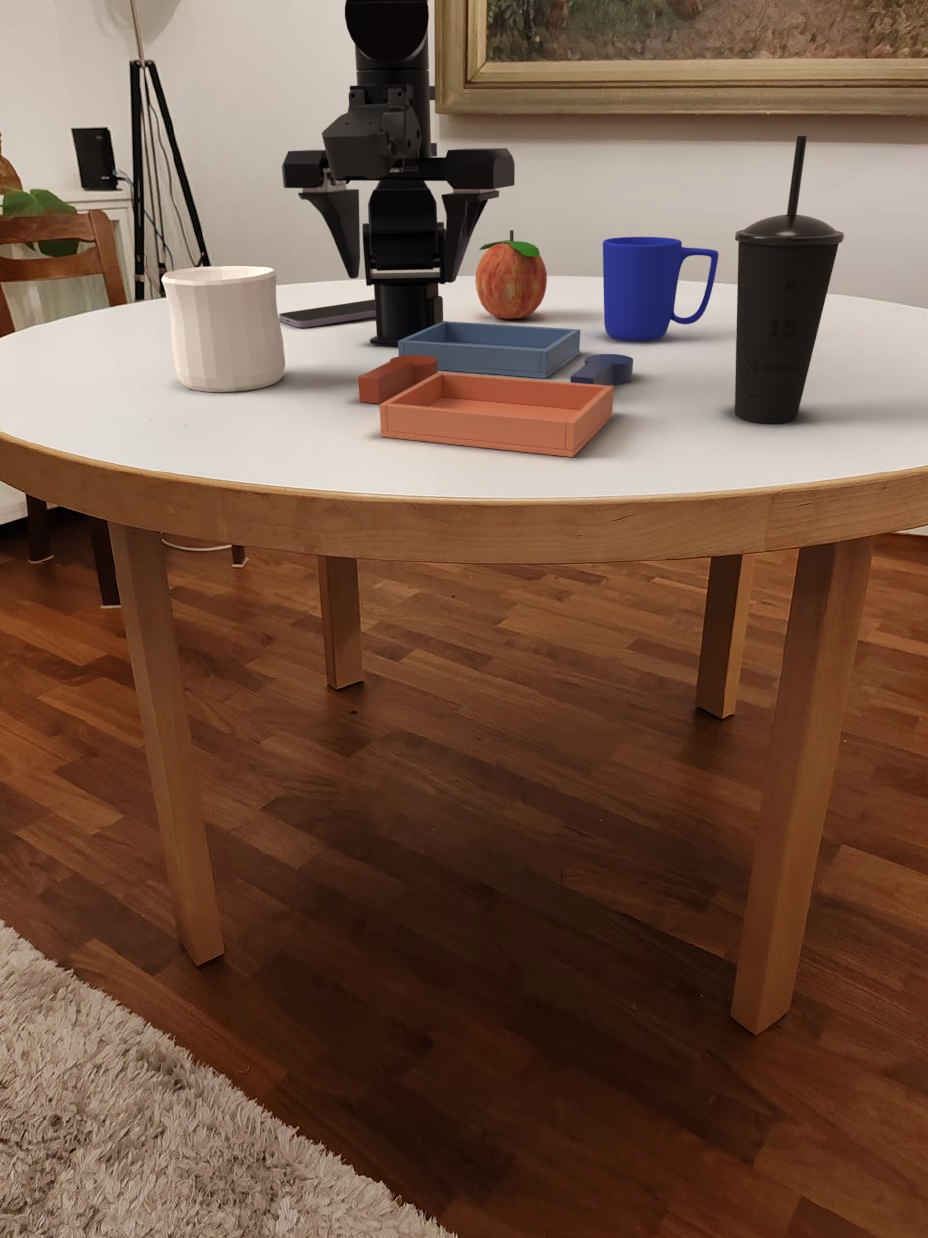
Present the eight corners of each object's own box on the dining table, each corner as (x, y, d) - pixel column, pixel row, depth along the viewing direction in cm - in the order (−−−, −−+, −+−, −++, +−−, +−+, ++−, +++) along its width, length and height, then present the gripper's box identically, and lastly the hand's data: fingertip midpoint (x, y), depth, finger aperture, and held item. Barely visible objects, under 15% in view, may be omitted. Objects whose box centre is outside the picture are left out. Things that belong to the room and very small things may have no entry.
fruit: (518, 308, 122) (519, 225, 117) (563, 319, 115) (566, 230, 110) (461, 315, 118) (460, 229, 113) (503, 327, 111) (503, 235, 106)
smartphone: (275, 313, 117) (382, 297, 124) (276, 322, 118) (383, 306, 124) (299, 322, 112) (410, 304, 118) (300, 331, 112) (410, 314, 119)
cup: (171, 375, 91) (154, 268, 87) (274, 365, 95) (263, 261, 90) (184, 398, 84) (166, 282, 79) (295, 386, 87) (285, 274, 82)
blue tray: (398, 366, 93) (397, 340, 92) (443, 344, 103) (443, 320, 101) (546, 378, 88) (547, 351, 87) (579, 353, 97) (580, 329, 96)
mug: (710, 347, 99) (721, 245, 95) (595, 344, 102) (600, 244, 97) (708, 332, 107) (718, 236, 102) (600, 329, 109) (605, 236, 104)
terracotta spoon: (392, 405, 80) (391, 379, 79) (346, 400, 82) (344, 375, 81) (445, 375, 90) (444, 352, 89) (403, 372, 91) (402, 348, 90)
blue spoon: (606, 404, 80) (607, 378, 79) (555, 400, 81) (556, 374, 80) (636, 374, 89) (638, 351, 88) (591, 371, 90) (592, 348, 89)
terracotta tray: (380, 436, 72) (379, 404, 71) (439, 401, 82) (438, 371, 80) (573, 457, 67) (574, 422, 66) (612, 416, 76) (614, 385, 75)
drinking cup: (703, 404, 79) (731, 136, 70) (792, 401, 80) (831, 134, 71) (734, 430, 72) (769, 136, 63) (831, 426, 73) (880, 134, 64)
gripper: (233, 70, 71) (257, 289, 78) (465, 61, 65) (468, 299, 72) (308, 76, 80) (323, 271, 87) (517, 68, 74) (515, 279, 81)
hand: (401, 279), depth 82 cm, fingers open, 9 cm apart
